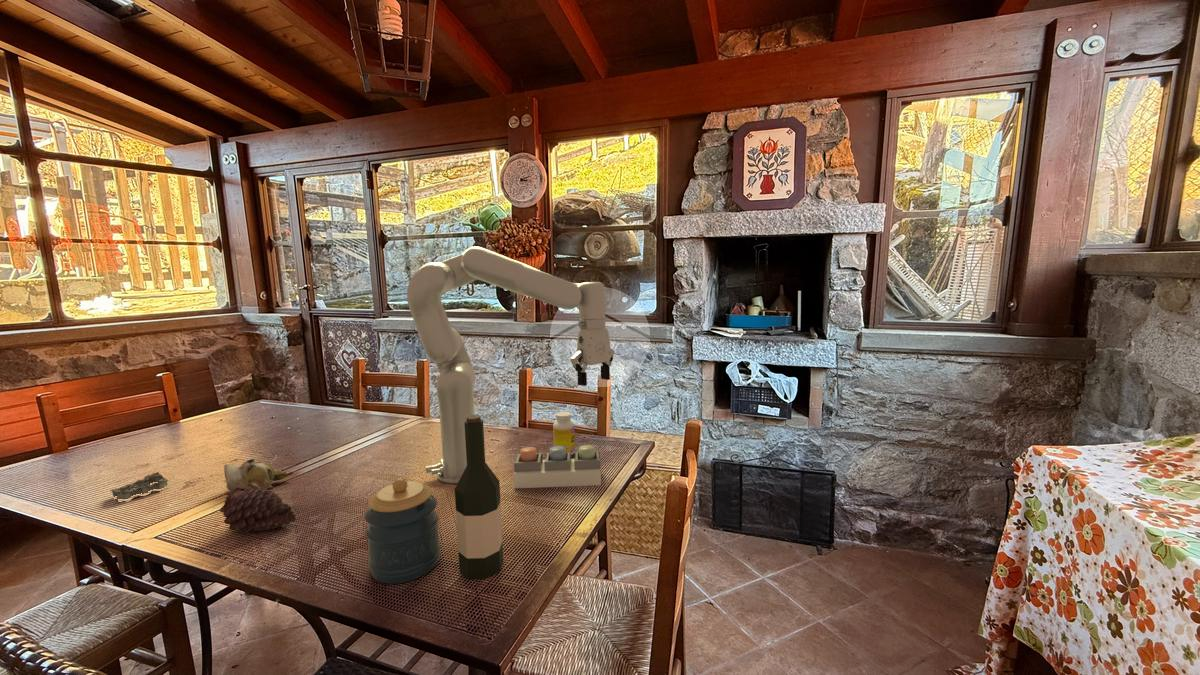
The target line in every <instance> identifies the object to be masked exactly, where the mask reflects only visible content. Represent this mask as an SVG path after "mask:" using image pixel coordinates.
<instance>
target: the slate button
mask: <svg viewBox="0 0 1200 675" xmlns="http://www.w3.org/2000/svg"><path fill="white" fill-rule="evenodd" d="M549 453H550V461H563V460H566V448H565V447H563V446H554V445H553V446H552V447H550V448H549Z"/></svg>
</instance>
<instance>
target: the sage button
mask: <svg viewBox="0 0 1200 675" xmlns="http://www.w3.org/2000/svg"><path fill="white" fill-rule="evenodd" d="M595 451H596V447H595V445H590V444H585V445H581V446H579V447H578V452H579V460H592V459H595Z"/></svg>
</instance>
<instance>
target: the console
mask: <svg viewBox="0 0 1200 675" xmlns="http://www.w3.org/2000/svg"><path fill="white" fill-rule="evenodd" d="M600 454H601V453H600V451H599V450H597V451H596V450H595V459H592V460H579V451H575V453H574V458H572V455H571V452H566V460H563V461H550V452H546V453H545V459H543V458H544V457H543V456H544V455H543V452H541V453H540V452H539V453H538V452H537V461H534V462H521V458H520V453H517V455H516V459H515V461H514V462H513V464H514V468H513V469H514V473H513V486H514V489H531V488H532V489H534V488H560V487H588V486H602V474H601V471H602V469H601V468H602V466H601V458H600V457H601V456H600Z"/></svg>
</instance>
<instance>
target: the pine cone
mask: <svg viewBox="0 0 1200 675" xmlns="http://www.w3.org/2000/svg"><path fill="white" fill-rule="evenodd" d="M224 495H227V496H226V497H225V501H224V504H223V506H221V507H220V509H219V512H220V513H223V514H222V515H223V517H225V519H224V520H223V523H225V524H226V525H229V528H228V530H230V531H237V530H239V533H244V534H245V533H248V532H250V531H252V530H253V531H255V532H257V531H264V530H265V531H269V530H273V528H274V529H276V528H281V527H283V526H285V525H286V526H287V525H289V524H290V523H292V522H293V523H294V522H295V521H296V520H297V517H296V515H295V514H294V511H293V510H292V506H290V505H289V504H288V503H283V500H282V498H281V497H280V496H279V494H277V493H275V492H273V491H272V490H267V489H260V488H255V489H253V488H251V487H245V489H243V490H242V489H241V488H239V487H238V488H236V489H234V490H233V491H232V492H231V491H226V492H225V493H224Z"/></svg>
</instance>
